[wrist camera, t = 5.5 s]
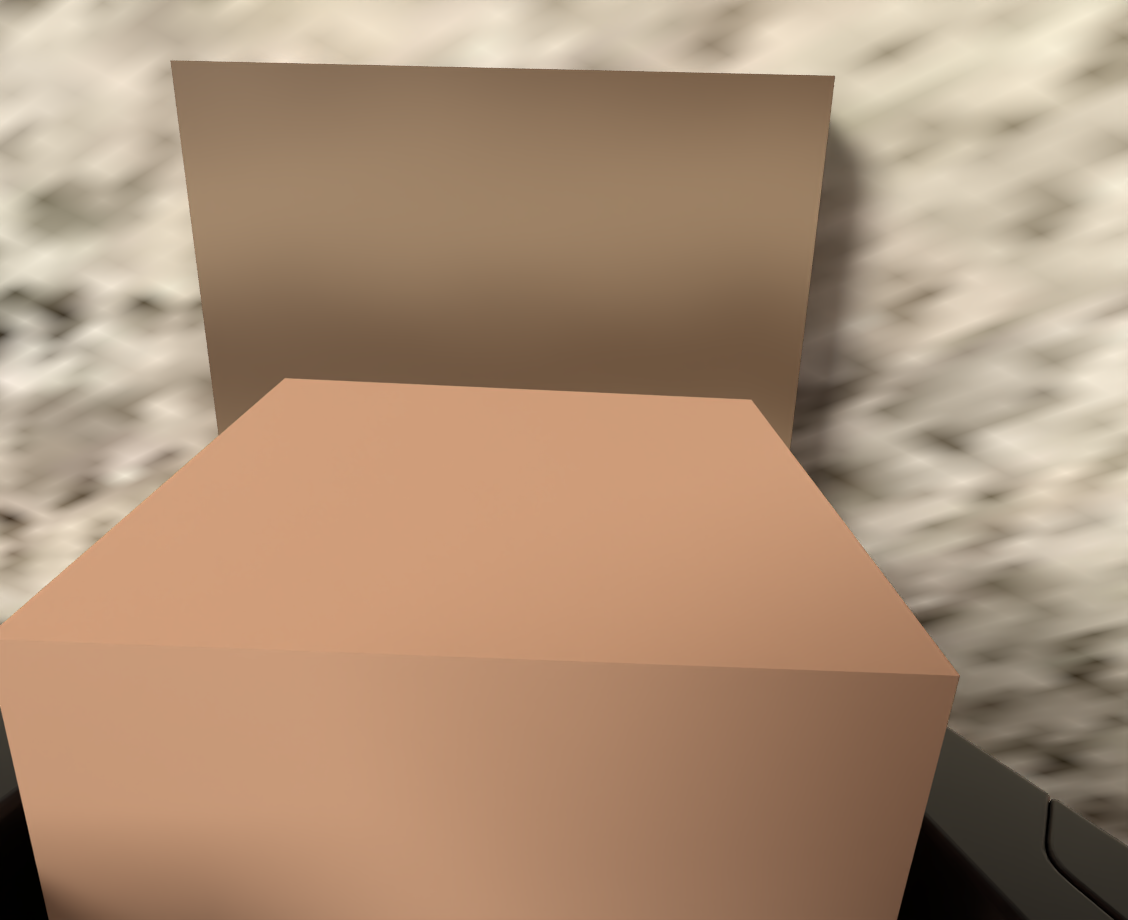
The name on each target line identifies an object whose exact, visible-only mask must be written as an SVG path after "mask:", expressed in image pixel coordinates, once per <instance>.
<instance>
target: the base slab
mask: <svg viewBox="0 0 1128 920" xmlns="http://www.w3.org/2000/svg"><path fill="white" fill-rule="evenodd" d="M171 68H172V76H173V84H174V91H175V99H176V107H177V115H178V123H179V130H180V138H181V146H182V154H183V162H184V169H185V177H186V185H187V193H188V200H189V208H190V216H191V224H192V232H193V239H194V247H195V255H196V263H197V271H198V278H199V286H200V294H201V302H202V310H203V317H204V325H205V333H206V341H207V349H208V356H209V364H210V372H211V380H212V388H213V395H214V403H215V411H216V419H217V426H218V434H219V435H220V434H221V433H222V432H224V431H225V430H226V429H227V428H228V427H229V426H230V425H232V424H233V423H234V422H235V421H236V420H237V419H238V418H240V417H241V416H242V415H243V414H244V413H245V412H247V411H248V410H249V409H250V408H251V407H252V406H253V405H255V404H256V403H257V402H258V401H259V400H260V399H261V398H263V397H264V396H265V395H266V394H267V393H268V392H270V391H271V390H272V389H273V388H274V387H275V386H276V385H278V384H279V383H280V382H281V381H282V380H283V379H284V378H291V379H313V380H334V381H356V382H378V383H400V384H421V385H443V386H465V387H487V388H509V389H530V390H552V391H574V392H596V393H617V394H639V395H661V396H683V397H704V398H726V399H748V400H752V401H753V403H754V404H755V405H756V406H757V408H758V409H759V410H760V412H761V413H762V414H763V416H764V417H765V418H766V420H767V421H768V422H769V424H770V425H771V426H772V428H773V429H774V430H775V432H776V433H777V434H778V436H779V437H780V438H781V440H782V441H783V442H784V444H785V445H786V446H787V448H788V449H789V450H790V445H791V437H792V428H793V420H794V412H795V403H796V395H797V387H798V379H799V370H800V362H801V354H802V345H803V337H804V329H805V321H806V312H807V304H808V296H809V287H810V279H811V271H812V263H813V254H814V246H815V238H816V230H817V221H818V213H819V205H820V196H821V188H822V180H823V172H824V163H825V155H826V147H827V138H828V130H829V122H830V114H831V105H832V97H833V89H834V81H835V76H817V75H774V74H731V73H688V72H644V71H601V70H558V69H515V68H471V67H428V66H385V65H342V64H298V63H255V62H212V61H171Z"/></svg>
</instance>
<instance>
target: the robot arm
mask: <svg viewBox="0 0 1128 920" xmlns="http://www.w3.org/2000/svg"><path fill="white" fill-rule="evenodd" d="M1049 801H1050V797H1049V795H1048V794H1047V793H1046V792H1045V791H1043V790H1042V789H1040V788H1039V787H1037V786H1036V785H1034V784H1033V783H1031V782H1030V781H1028V780H1027V779H1025V778H1024V777H1022V776H1021V775H1019V774H1018V773H1016V772H1015V771H1013V770H1012V769H1010V768H1009V767H1007V766H1006V765H1004V764H1003V763H1001V762H1000V761H998V760H997V759H995V758H994V757H992V756H991V755H989V754H988V753H986V752H985V751H983V750H982V749H980V748H979V747H977V746H976V745H974V744H972V743H971V742H969V741H968V740H966V739H965V738H963V737H962V736H960V735H959V734H957V733H956V732H954V731H953V730H951V729H950V728H948V727H946V731H945V735H944V739H943V743H942V747H941V751H940V755H939V758H938V762H937V766H936V770H935V774H934V778H933V782H932V786H931V789H930V793H929V797H928V801H927V805H926V809H925V813H924V817H923V820H922V824H921V828H920V832H919V836H918V840H917V844H916V848H915V851H914V855H913V859H912V863H911V867H910V871H909V875H908V879H907V882H906V886H905V890H904V894H903V898H902V902H901V906H900V910H899V913H898V917H897V920H1128V846H1127V845H1125V844H1124V843H1122V842H1121V841H1119V840H1118V839H1116V838H1115V837H1113V836H1111V835H1110V834H1108V833H1107V832H1105V831H1104V830H1102V829H1101V828H1099V827H1097V826H1096V825H1094V824H1093V823H1091V822H1090V821H1088V820H1087V819H1085V818H1084V817H1082V816H1081V815H1079V814H1078V813H1076V812H1075V811H1074V810H1072V809H1071V808H1069V807H1068V806H1066V805H1065V804H1063V803H1062V802H1060V801H1059V800H1056V799H1053V800H1051V801H1050V803H1049ZM0 920H49V919H48V914H47V910H46V905H45V901H44V897H43V892H42V888H41V883H40V879H39V875H38V870H37V866H36V861H35V857H34V853H33V848H32V844H31V839H30V835H29V831H28V826H27V822H26V817H25V813H24V809H23V804H22V800H21V795H20V791H19V787H18V782H17V778H16V773H15V769H14V765H13V760H12V756H11V751H10V747H9V743H8V738H7V734H6V730H5V725H4V721H3V716H2V712H1V708H0Z"/></svg>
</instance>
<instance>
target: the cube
mask: <svg viewBox="0 0 1128 920" xmlns="http://www.w3.org/2000/svg"><path fill="white" fill-rule="evenodd" d="M959 677H960V675H959V674H958V673H957V671H956V670H955V669H954V667H953V666H952V665H951V663H950V662H949V661H948V659H947V658H946V657H945V655H944V654H943V653H942V651H941V650H940V649H939V647H938V646H937V645H936V644H935V642H934V641H933V640H932V638H931V637H930V636H929V634H928V633H927V632H926V630H925V629H924V628H923V626H922V625H921V624H920V622H919V621H918V620H917V618H916V617H915V616H914V614H913V613H912V612H911V610H910V609H909V608H908V606H907V605H906V604H905V602H904V601H903V600H902V598H901V597H900V596H899V595H898V593H897V592H896V591H895V589H894V588H893V587H892V585H891V584H890V583H889V581H888V580H887V579H886V577H885V576H884V575H883V573H882V572H881V571H880V569H879V568H878V567H877V565H876V564H875V563H874V561H873V560H872V559H871V557H870V556H869V555H868V553H867V552H866V551H865V549H864V548H863V547H862V546H861V544H860V543H859V542H858V540H857V539H856V538H855V536H854V535H853V534H852V532H851V531H850V530H849V528H848V527H847V526H846V524H845V523H844V522H843V520H842V519H841V518H840V516H839V515H838V514H837V512H836V511H835V510H834V508H833V507H832V506H831V504H830V503H829V502H828V500H827V499H826V498H825V497H824V495H823V494H822V493H821V491H820V490H819V489H818V487H817V486H816V485H815V483H814V482H813V481H812V479H811V478H810V477H809V475H808V474H807V473H806V471H805V470H804V469H803V467H802V466H801V465H800V463H799V462H798V461H797V459H796V458H795V457H794V455H793V454H792V453H791V452H790V450H789V449H788V448H787V446H786V445H785V444H784V442H783V441H782V440H781V438H780V437H779V436H778V434H777V433H776V432H775V430H774V429H773V428H772V426H771V425H770V424H769V422H768V421H767V420H766V418H765V417H764V416H763V414H762V413H761V412H760V410H759V409H758V408H757V406H756V405H755V404H754V403H753V401H752V400H748V399H726V398H704V397H683V396H661V395H639V394H617V393H596V392H574V391H552V390H530V389H509V388H487V387H465V386H443V385H421V384H400V383H378V382H356V381H334V380H313V379H291V378H284V379H283V380H282V381H281V382H280V383H279V384H278V385H276V386H275V387H274V388H273V389H272V390H271V391H270V392H268V393H267V394H266V395H265V396H264V397H263V398H261V399H260V400H259V401H258V402H257V403H256V404H255V405H253V406H252V407H251V408H250V409H249V410H248V411H247V412H245V413H244V414H243V415H242V416H241V417H240V418H238V419H237V420H236V421H235V422H234V423H233V424H232V425H230V426H229V427H228V428H227V429H226V430H225V431H224V432H222V433H221V434H220V435H219V436H218V437H217V438H215V439H214V440H213V441H212V442H211V443H210V444H209V445H207V446H206V447H205V448H204V449H203V450H202V451H201V452H199V453H198V454H197V455H196V456H195V457H194V458H192V459H191V460H190V461H189V462H188V463H187V464H186V465H184V466H183V467H182V468H181V469H180V470H179V471H178V472H176V473H175V474H174V475H173V476H172V477H171V478H169V479H168V480H167V481H166V482H165V483H164V484H163V485H161V486H160V487H159V488H158V489H157V490H156V491H155V492H153V493H152V494H151V495H150V496H149V497H148V498H146V499H145V500H144V501H143V502H142V503H141V504H140V505H138V506H137V507H136V508H135V509H134V510H133V511H131V512H130V513H129V514H128V515H127V516H126V517H125V518H123V519H122V520H121V521H120V522H119V523H118V524H117V525H115V526H114V527H113V528H112V529H111V530H110V531H108V532H107V533H106V534H105V535H104V536H103V537H102V538H100V539H99V540H98V541H97V542H96V543H95V544H94V545H92V546H91V547H90V548H89V549H88V550H87V551H85V552H84V553H83V554H82V555H81V556H80V557H79V558H77V559H76V560H75V561H74V562H73V563H72V564H71V565H69V566H68V567H67V568H66V569H65V570H64V571H62V572H61V573H60V574H59V575H58V576H57V577H56V578H54V579H53V580H52V581H51V582H50V583H49V584H48V585H46V586H45V587H44V588H43V589H42V590H41V591H39V592H38V593H37V594H36V595H35V596H34V597H33V598H31V599H30V600H29V601H28V602H27V603H26V604H25V605H23V606H22V607H21V608H20V609H19V610H18V611H16V612H15V613H14V614H13V615H12V616H11V617H10V618H8V619H7V620H6V621H5V622H4V623H3V624H2V625H0V708H1V712H2V716H3V721H4V725H5V730H6V734H7V738H8V743H9V747H10V751H11V756H12V760H13V765H14V769H15V773H16V778H17V782H18V787H19V791H20V795H21V800H22V804H23V809H24V813H25V817H26V822H27V826H28V831H29V835H30V839H31V844H32V848H33V853H34V857H35V861H36V866H37V870H38V875H39V879H40V883H41V888H42V892H43V897H44V901H45V905H46V910H47V914H48V919H49V920H897V917H898V913H899V910H900V906H901V902H902V898H903V894H904V890H905V886H906V882H907V879H908V875H909V871H910V867H911V863H912V859H913V855H914V851H915V848H916V844H917V840H918V836H919V832H920V828H921V824H922V820H923V817H924V813H925V809H926V805H927V801H928V797H929V793H930V789H931V786H932V782H933V778H934V774H935V770H936V766H937V762H938V758H939V755H940V751H941V747H942V743H943V739H944V735H945V731H946V727H947V724H948V720H949V716H950V712H951V708H952V704H953V700H954V696H955V693H956V689H957V685H958V681H959Z"/></svg>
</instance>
